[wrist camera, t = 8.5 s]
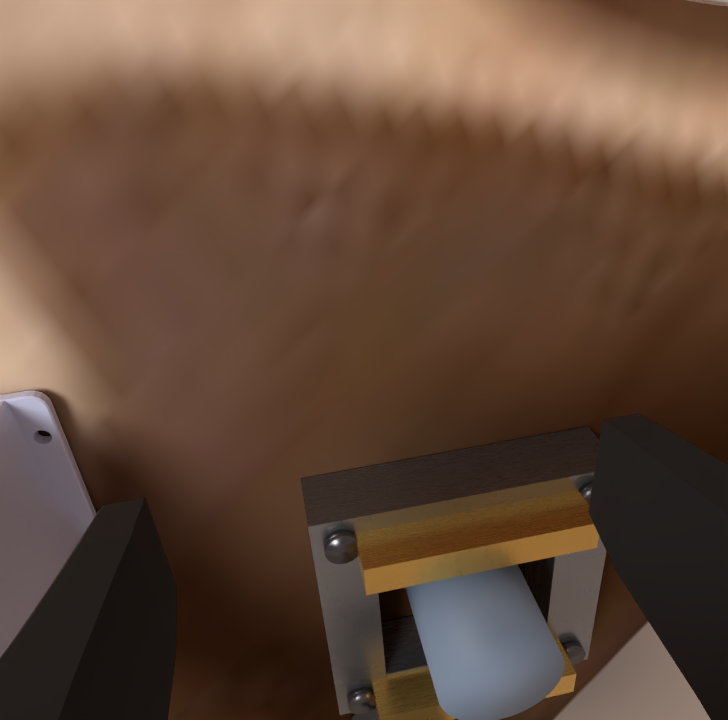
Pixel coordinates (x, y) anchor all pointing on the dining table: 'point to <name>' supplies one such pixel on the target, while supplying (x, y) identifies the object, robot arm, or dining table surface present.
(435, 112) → the dining table surface
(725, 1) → the bowl
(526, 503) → the grey square frame
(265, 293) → the dining table surface
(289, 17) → the dining table surface
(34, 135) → the dining table surface
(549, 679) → the blue-grey rounded cylinder
